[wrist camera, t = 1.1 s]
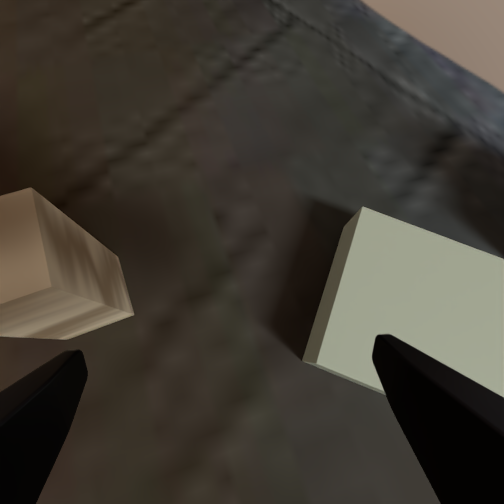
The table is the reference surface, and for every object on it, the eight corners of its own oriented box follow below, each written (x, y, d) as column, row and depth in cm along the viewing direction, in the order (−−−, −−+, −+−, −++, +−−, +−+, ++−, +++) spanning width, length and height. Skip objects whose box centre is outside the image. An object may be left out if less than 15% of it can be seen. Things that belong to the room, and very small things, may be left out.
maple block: (134, 314, 23) (51, 286, 12) (67, 339, 22) (-83, 332, 11) (118, 256, 24) (31, 187, 14) (54, 278, 23) (-91, 221, 13)
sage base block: (454, 423, 22) (501, 438, 18) (301, 360, 22) (316, 363, 19) (474, 276, 26) (517, 264, 22) (343, 227, 26) (362, 206, 22)
